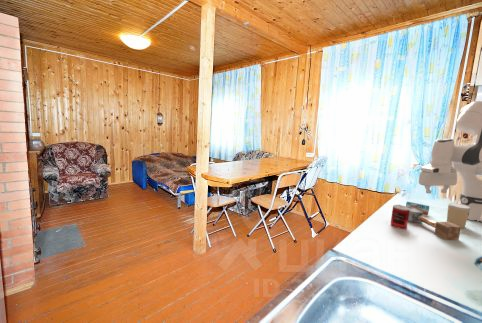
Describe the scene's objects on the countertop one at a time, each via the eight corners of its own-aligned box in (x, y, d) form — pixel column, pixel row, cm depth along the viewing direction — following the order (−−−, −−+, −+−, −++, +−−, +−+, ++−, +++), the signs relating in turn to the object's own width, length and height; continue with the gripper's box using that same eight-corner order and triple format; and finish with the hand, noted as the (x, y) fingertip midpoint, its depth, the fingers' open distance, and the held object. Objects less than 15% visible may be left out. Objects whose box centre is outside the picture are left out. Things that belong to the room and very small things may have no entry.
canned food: (401, 223, 132) (404, 205, 130) (410, 229, 124) (413, 210, 122) (387, 222, 132) (390, 204, 131) (395, 228, 125) (398, 209, 123)
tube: (423, 221, 132) (424, 215, 131) (451, 234, 116) (452, 227, 115) (416, 221, 131) (417, 215, 131) (444, 234, 116) (445, 227, 115)
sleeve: (413, 218, 140) (414, 208, 139) (421, 222, 134) (423, 212, 133) (403, 218, 139) (404, 208, 138) (411, 222, 133) (413, 212, 132)
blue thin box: (405, 210, 155) (406, 201, 154) (405, 209, 156) (407, 201, 155) (427, 215, 146) (429, 206, 145) (428, 215, 147) (429, 206, 147)
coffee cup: (471, 229, 127) (475, 209, 125) (451, 227, 129) (455, 207, 127) (458, 223, 136) (462, 203, 134) (440, 221, 138) (444, 202, 136)
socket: (446, 234, 120) (448, 221, 119) (458, 239, 114) (461, 226, 113) (434, 234, 119) (436, 221, 118) (445, 239, 113) (448, 226, 112)
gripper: (450, 167, 128) (446, 191, 130) (418, 167, 126) (414, 191, 128) (462, 169, 122) (458, 194, 124) (428, 169, 119) (424, 195, 122)
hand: (436, 193), depth 126 cm, fingers open, 8 cm apart
